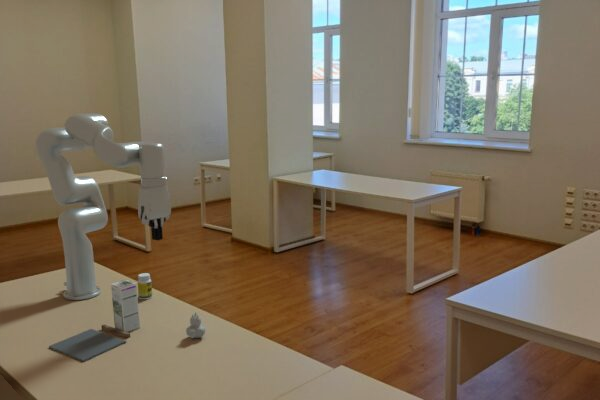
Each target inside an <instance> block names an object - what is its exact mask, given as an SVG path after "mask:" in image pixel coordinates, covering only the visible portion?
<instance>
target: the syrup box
mask: <svg viewBox="0 0 600 400" xmlns="http://www.w3.org/2000/svg"><path fill="white" fill-rule="evenodd" d="M110 289H111V299H112V309H113V310H112V311H113V312H112V313H113V320H114V328H116V329H119V330H122V331H125V332H128V333H130V332H132V331H135V330H137V329H140V328H141V324H140V323H141V322H140V309H139V301H138V300H139V297H138V284H137V283H136V282H134V281H131V280H129V279H123V280H119V281H116V282H113V283H111V284H110Z"/></svg>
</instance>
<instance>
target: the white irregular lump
mask: <svg viewBox="0 0 600 400" xmlns="http://www.w3.org/2000/svg"><path fill="white" fill-rule="evenodd" d="M189 321H190V322H189V324H190V325H188V326H187V328H186V329H185V332H186V335H187V336H189V338H190V339H200V338H202V337H203V336H205V332H206V328H205V327H204V324H202V318H201V317H200V316H199V315H198V314H197V311H195V312H194V314H192V315H191V317H190V319H189Z"/></svg>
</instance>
